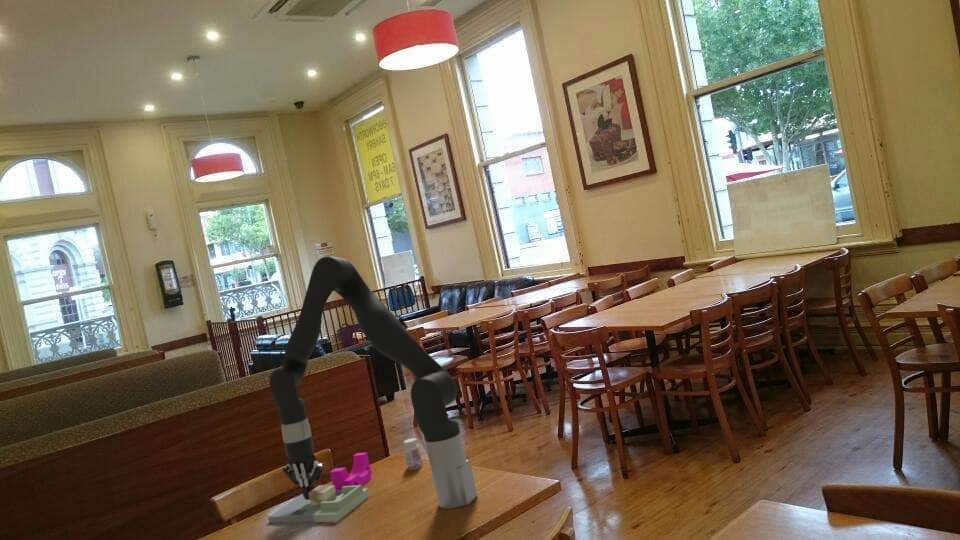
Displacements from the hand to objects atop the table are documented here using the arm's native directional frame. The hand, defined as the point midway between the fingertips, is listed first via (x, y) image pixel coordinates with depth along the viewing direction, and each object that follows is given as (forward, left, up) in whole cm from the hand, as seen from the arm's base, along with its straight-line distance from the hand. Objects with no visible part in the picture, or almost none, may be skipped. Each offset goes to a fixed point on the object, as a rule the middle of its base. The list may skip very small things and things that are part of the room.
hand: (309, 498), depth 185 cm
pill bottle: (-17, -30, -4) cm, 34 cm away
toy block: (-3, -18, -4) cm, 18 cm away
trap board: (-3, 0, -4) cm, 5 cm away
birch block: (-4, 0, -1) cm, 5 cm away
